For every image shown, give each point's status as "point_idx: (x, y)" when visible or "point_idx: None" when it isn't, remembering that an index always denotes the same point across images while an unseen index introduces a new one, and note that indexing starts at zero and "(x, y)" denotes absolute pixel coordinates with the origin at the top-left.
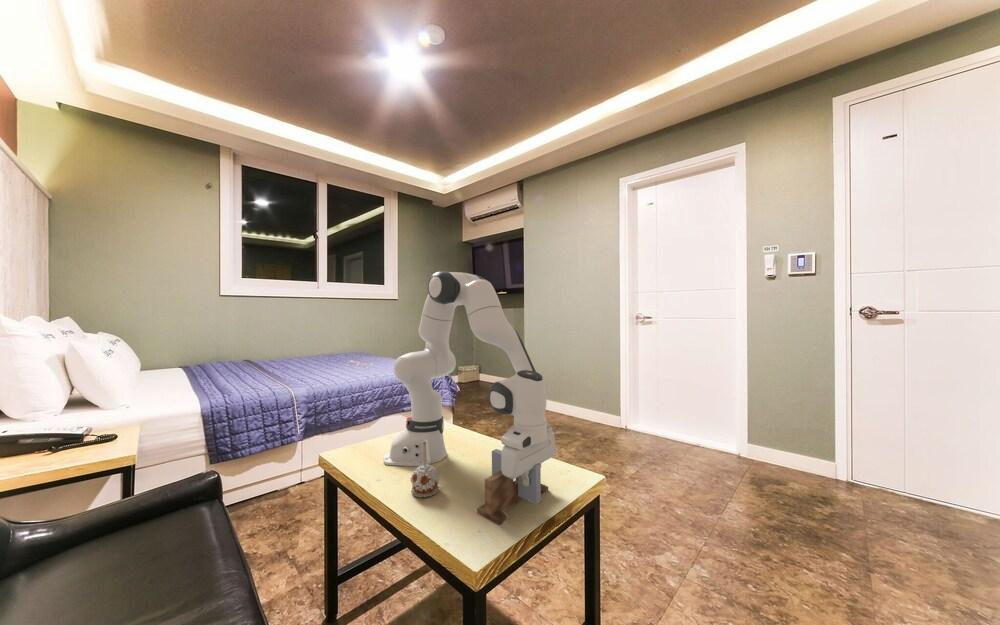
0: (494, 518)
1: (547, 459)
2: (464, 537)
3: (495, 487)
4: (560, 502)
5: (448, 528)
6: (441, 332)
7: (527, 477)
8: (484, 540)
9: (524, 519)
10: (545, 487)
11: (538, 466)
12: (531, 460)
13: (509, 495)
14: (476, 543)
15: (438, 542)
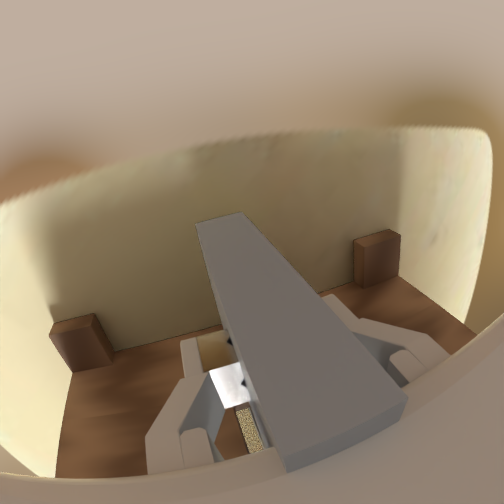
0: (396, 257)
1: (45, 480)
2: (459, 238)
3: (444, 340)
4: (55, 211)
5: (452, 290)
6: None
7: (387, 328)
8: (448, 195)
9: (305, 197)
10: (64, 337)
11: (335, 411)
12: (495, 452)
13: None
14: (461, 199)
15: (481, 255)
